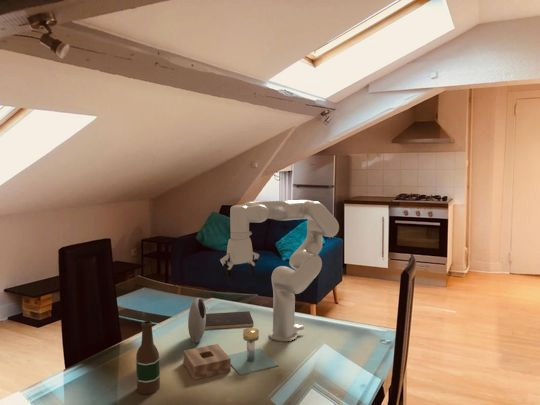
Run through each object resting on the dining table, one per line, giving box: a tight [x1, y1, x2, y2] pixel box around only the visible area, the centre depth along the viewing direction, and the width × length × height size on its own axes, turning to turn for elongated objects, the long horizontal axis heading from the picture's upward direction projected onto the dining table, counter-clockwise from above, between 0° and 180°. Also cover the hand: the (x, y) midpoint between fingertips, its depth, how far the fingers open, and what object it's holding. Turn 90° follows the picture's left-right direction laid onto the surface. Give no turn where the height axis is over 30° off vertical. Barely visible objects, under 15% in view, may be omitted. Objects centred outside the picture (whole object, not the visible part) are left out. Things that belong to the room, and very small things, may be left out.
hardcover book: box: [205, 310, 255, 330], centre depth 211 cm, size 16×23×2 cm
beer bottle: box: [135, 320, 161, 396], centre depth 149 cm, size 8×8×24 cm
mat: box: [227, 347, 279, 376], centre depth 171 cm, size 16×16×1 cm
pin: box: [242, 327, 260, 362], centre depth 170 cm, size 6×6×12 cm
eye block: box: [182, 343, 232, 381], centre depth 166 cm, size 14×14×5 cm
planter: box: [187, 297, 207, 344], centre depth 188 cm, size 18×7×19 cm, turn 0°
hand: (240, 276), depth 179 cm, fingers open, 9 cm apart
